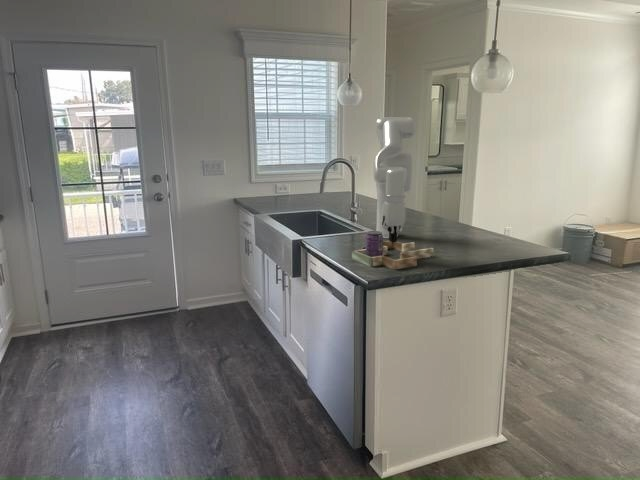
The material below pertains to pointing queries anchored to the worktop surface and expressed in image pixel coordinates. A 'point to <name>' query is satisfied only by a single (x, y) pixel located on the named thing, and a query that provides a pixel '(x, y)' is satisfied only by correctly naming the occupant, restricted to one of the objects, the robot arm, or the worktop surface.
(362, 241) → the worktop surface
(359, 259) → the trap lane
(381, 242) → the beverage can
